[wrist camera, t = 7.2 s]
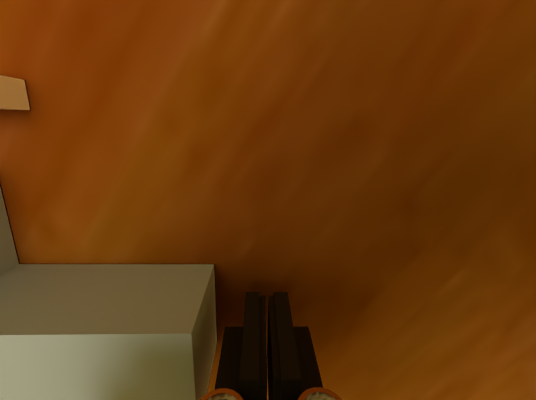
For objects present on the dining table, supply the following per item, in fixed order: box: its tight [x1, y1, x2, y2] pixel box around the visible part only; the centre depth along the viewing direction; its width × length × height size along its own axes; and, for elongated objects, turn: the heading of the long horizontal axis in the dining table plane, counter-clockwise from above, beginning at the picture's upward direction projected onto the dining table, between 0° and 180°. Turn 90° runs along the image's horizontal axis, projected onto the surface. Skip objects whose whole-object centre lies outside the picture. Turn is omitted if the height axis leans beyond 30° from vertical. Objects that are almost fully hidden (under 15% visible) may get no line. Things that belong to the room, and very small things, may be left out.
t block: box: [0, 188, 217, 400], centre depth 10 cm, size 12×12×4 cm
